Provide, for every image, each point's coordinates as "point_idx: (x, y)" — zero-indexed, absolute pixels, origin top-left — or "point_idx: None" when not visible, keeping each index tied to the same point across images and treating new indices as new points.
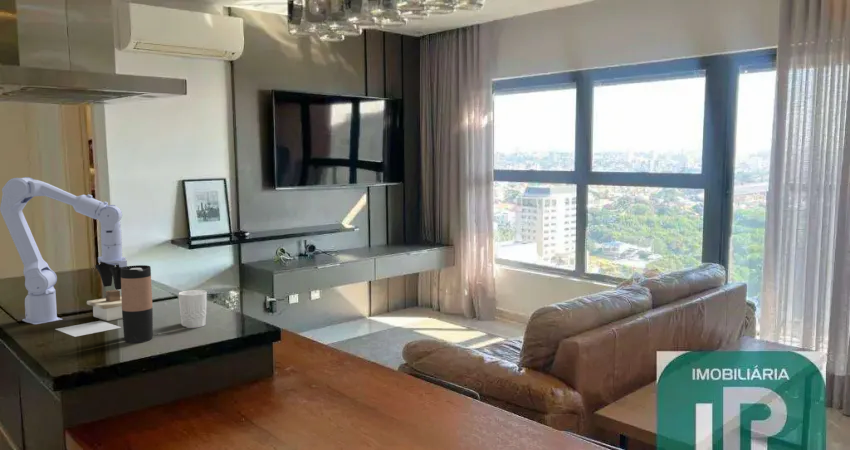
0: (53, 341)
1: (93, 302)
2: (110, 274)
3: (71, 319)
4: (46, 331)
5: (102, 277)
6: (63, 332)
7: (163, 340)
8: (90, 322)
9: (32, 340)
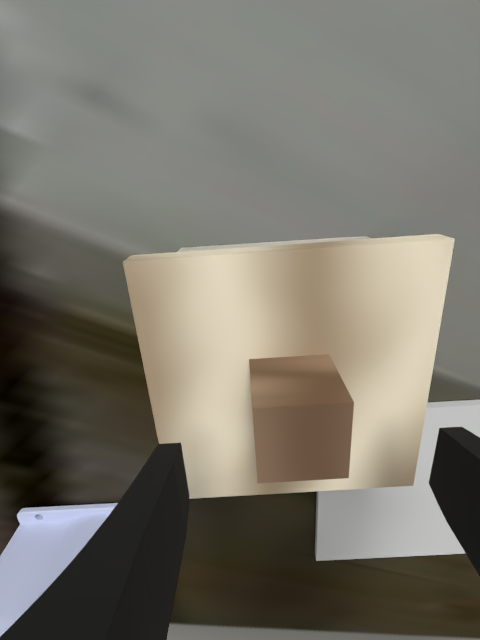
0: (458, 587)
1: (250, 489)
2: (140, 587)
3: None
4: (297, 569)
5: (166, 628)
6: (395, 556)
7: None
8: None
9: (384, 614)
